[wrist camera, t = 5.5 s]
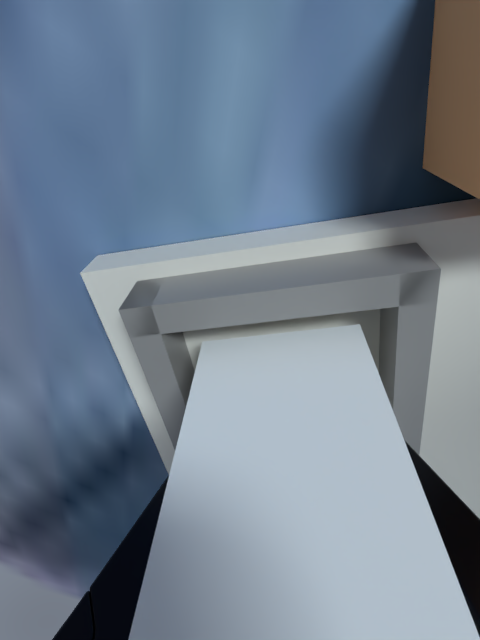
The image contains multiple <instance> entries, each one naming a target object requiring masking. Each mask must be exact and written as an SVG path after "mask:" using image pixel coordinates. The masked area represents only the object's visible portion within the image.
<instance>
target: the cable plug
mask: <svg viewBox="0 0 480 640" xmlns="http://www.w3.org/2000/svg"><path fill="white" fill-rule="evenodd" d="M423 169H425V170H427V171H429V172H431V173H432V174H434V175H436V176H438V177H440V178H442V179H443V180H445V181H447V182H449V183H451V184H452V185H454V186H456V187H458V188H460V189H461V190H463V191H465V192H467V193H469V194H471V195H472V196H474V197H476V198H478V199H480V0H435V12H434V25H433V38H432V51H431V64H430V77H429V90H428V103H427V117H426V130H425V143H424V156H423Z"/></svg>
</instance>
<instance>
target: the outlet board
mask: <svg viewBox="0 0 480 640" xmlns="http://www.w3.org/2000/svg"><path fill="white" fill-rule="evenodd" d="M80 274H81V276H82V278H83V281H84V283H85V285H86V287H87V290H88V292H89V294H90V296H91V299H92V301H93V303H94V306H95V308H96V310H97V312H98V315H99V317H100V319H101V322H102V324H103V326H104V328H105V331H106V333H107V335H108V338H109V340H110V342H111V344H112V347H113V349H114V351H115V353H116V356H117V358H118V360H119V363H120V365H121V367H122V369H123V372H124V374H125V376H126V379H127V381H128V383H129V385H130V388H131V390H132V392H133V394H134V397H135V399H136V401H137V404H138V406H139V408H140V410H141V413H142V415H143V417H144V420H145V422H146V424H147V426H148V429H149V431H150V433H151V435H152V438H153V440H154V442H155V445H156V447H157V449H158V451H159V454H160V456H161V458H162V461H163V463H164V465H165V467H166V470H167V472H168V474H170V470H171V466H172V462H173V458H174V454H175V450H176V446H177V442H178V438H179V434H180V430H181V426H182V422H183V418H184V414H185V409H186V405H187V401H188V397H189V393H190V389H191V385H192V381H193V377H194V373H195V369H196V365H197V361H198V357H199V353H200V349H201V345H202V342H203V341H212V340H221V339H231V338H240V337H249V336H258V335H267V334H276V333H285V332H294V331H303V330H312V329H321V328H330V327H339V326H348V325H357V324H360V326H361V329H362V331H363V334H364V336H365V339H366V342H367V344H368V347H369V349H370V352H371V355H372V357H373V360H374V362H375V365H376V368H377V370H378V373H379V376H380V378H381V381H382V383H383V386H384V389H385V391H386V394H387V396H388V399H389V402H390V404H391V407H392V409H393V412H394V415H395V417H396V420H397V423H398V425H399V428H400V430H401V433H402V436H403V438H404V440H405V441H406V442H407V443H408V444H409V445H410V446H411V447H412V448H413V449H414V450H415V451H416V452H417V454H418V455H419V456H420V457H421V458H422V459H423V460H424V461H425V462H426V463H427V464H428V465H429V466H430V467H431V468H432V469H433V470H434V471H435V472H436V473H437V475H438V476H439V477H440V478H441V479H442V480H443V481H444V482H445V483H446V484H447V485H448V486H449V487H450V488H451V489H452V490H453V491H454V492H455V493H456V494H457V496H458V497H459V498H460V499H461V500H462V501H463V502H464V503H465V504H466V505H467V506H468V507H469V508H470V509H471V510H472V511H473V512H474V513H475V514H476V516H477V517H478V518H479V519H480V199H478V198H475V199H469V200H462V201H455V202H449V203H442V204H436V205H429V206H422V207H416V208H409V209H402V210H396V211H389V212H383V213H376V214H369V215H363V216H356V217H349V218H343V219H336V220H329V221H323V222H316V223H310V224H303V225H296V226H290V227H283V228H276V229H270V230H263V231H257V232H250V233H243V234H237V235H230V236H223V237H217V238H210V239H204V240H197V241H190V242H184V243H177V244H170V245H164V246H157V247H151V248H144V249H137V250H131V251H124V252H117V253H111V254H104V255H97V256H96V257H95V258H94V260H93V261H92V262H91V263H90V264H89V265H88V266H87V267H86V268H85V269H84V270H83V271H82V272H81V273H80Z"/></svg>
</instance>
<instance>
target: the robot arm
mask: <svg viewBox="0 0 480 640" xmlns="http://www.w3.org/2000/svg"><path fill="white" fill-rule="evenodd" d="M404 441H405V440H404ZM405 443H406V446H407V449H408V451H409V454H410V457H411V459H412V462H413V464H414V467H415V470H416V472H417V475H418V477H419V480H420V483H421V485H422V488H423V490H424V493H425V496H426V498H427V501H428V504H429V506H430V509H431V511H432V514H433V517H434V519H435V522H436V524H437V527H438V530H439V532H440V535H441V538H442V540H443V543H444V545H445V548H446V551H447V553H448V556H449V558H450V561H451V564H452V566H453V569H454V571H455V574H456V577H457V579H458V582H459V585H460V587H461V590H462V592H463V595H464V598H465V600H466V603H467V605H468V608H469V611H470V613H471V616H472V618H473V621H474V624H475V626H476V629H477V632H478V634H479V637H480V519H479V518H478V517H477V516H476V514H475V513H474V512H473V511H472V510H471V509H470V508H469V507H468V506H467V505H466V504H465V503H464V502H463V501H462V500H461V499H460V498H459V497H458V496H457V494H456V493H455V492H454V491H453V490H452V489H451V488H450V487H449V486H448V485H447V484H446V483H445V482H444V481H443V480H442V479H441V478H440V477H439V476H438V475H437V473H436V472H435V471H434V470H433V469H432V468H431V467H430V466H429V465H428V464H427V463H426V462H425V461H424V460H423V459H422V458H421V457H420V456H419V455H418V454H417V452H416V451H415V450H414V449H413V448H412V447H411V446H410V445H409V444H408V443H407V442H406V441H405ZM168 478H169V476H168V477H167V479H166V480H165V481H164V483H163V484H162V486H161V487H160V489H159V490H158V491H157V493H156V494H155V496H154V497H153V499H152V500H151V501H150V503H149V504H148V506H147V507H146V508H145V510H144V511H143V513H142V514H141V516H140V517H139V518H138V520H137V521H136V523H135V524H134V526H133V527H132V528H131V530H130V531H129V533H128V534H127V535H126V537H125V538H124V540H123V541H122V543H121V544H120V545H119V547H118V548H117V550H116V551H115V553H114V554H113V555H112V557H111V558H110V560H109V561H108V562H107V564H106V565H105V567H104V568H103V570H102V571H101V572H100V574H99V575H98V577H97V578H96V580H95V581H94V582H93V584H92V585H91V587H90V591H87V592H86V593H85V595H84V596H83V598H82V599H81V601H80V602H79V603H78V605H77V606H76V608H75V609H74V611H73V612H72V614H71V615H70V616H69V617H68V619H67V620H66V621H65V623H64V624H63V626H62V627H61V628H60V630H59V631H58V632H57V634H56V635H55V636H54V638H53V639H52V640H128V639H129V635H130V631H131V627H132V623H133V619H134V615H135V611H136V607H137V603H138V599H139V595H140V591H141V587H142V583H143V579H144V575H145V571H146V567H147V563H148V559H149V555H150V550H151V546H152V542H153V538H154V534H155V530H156V526H157V522H158V518H159V514H160V510H161V506H162V502H163V498H164V494H165V490H166V486H167V482H168Z"/></svg>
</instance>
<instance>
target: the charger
mask: <svg viewBox="0 0 480 640" xmlns="http://www.w3.org/2000/svg"><path fill="white" fill-rule="evenodd" d="M128 640H480V637H479V634H478V632H477V629H476V626H475V624H474V621H473V618H472V616H471V613H470V611H469V608H468V605H467V603H466V600H465V598H464V595H463V592H462V590H461V587H460V585H459V582H458V579H457V577H456V574H455V571H454V569H453V566H452V564H451V561H450V558H449V556H448V553H447V551H446V548H445V545H444V543H443V540H442V538H441V535H440V532H439V530H438V527H437V524H436V522H435V519H434V517H433V514H432V511H431V509H430V506H429V504H428V501H427V498H426V496H425V493H424V490H423V488H422V485H421V483H420V480H419V477H418V475H417V472H416V470H415V467H414V464H413V462H412V459H411V457H410V454H409V451H408V449H407V446H406V443H405V441H404V438H403V436H402V433H401V430H400V428H399V425H398V423H397V420H396V417H395V415H394V412H393V409H392V407H391V404H390V402H389V399H388V396H387V394H386V391H385V389H384V386H383V383H382V381H381V378H380V376H379V373H378V370H377V368H376V365H375V362H374V360H373V357H372V355H371V352H370V349H369V347H368V344H367V342H366V339H365V336H364V334H363V331H362V329H361V326H360V324H357V325H348V326H339V327H330V328H321V329H312V330H303V331H294V332H285V333H276V334H267V335H258V336H249V337H240V338H231V339H221V340H212V341H203V342H202V345H201V349H200V353H199V357H198V361H197V365H196V369H195V373H194V377H193V381H192V385H191V389H190V393H189V397H188V401H187V405H186V409H185V414H184V418H183V422H182V426H181V430H180V434H179V438H178V442H177V446H176V450H175V454H174V458H173V462H172V466H171V470H170V474H169V478H168V482H167V486H166V490H165V494H164V498H163V502H162V506H161V510H160V514H159V518H158V522H157V526H156V530H155V534H154V538H153V542H152V546H151V550H150V555H149V559H148V563H147V567H146V571H145V575H144V579H143V583H142V587H141V591H140V595H139V599H138V603H137V607H136V611H135V615H134V619H133V623H132V627H131V631H130V635H129V639H128Z"/></svg>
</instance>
